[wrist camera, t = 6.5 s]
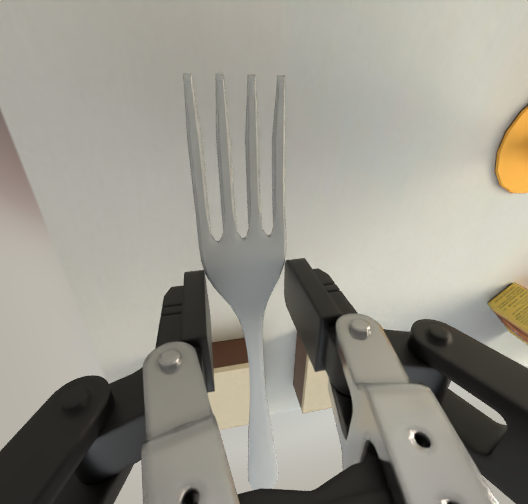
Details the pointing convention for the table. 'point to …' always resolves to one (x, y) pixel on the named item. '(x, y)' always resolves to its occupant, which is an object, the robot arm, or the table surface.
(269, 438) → the fork
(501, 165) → the cup
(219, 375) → the cake
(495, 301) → the candy box
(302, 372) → the cake slice
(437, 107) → the table surface
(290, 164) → the table surface
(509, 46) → the table surface
